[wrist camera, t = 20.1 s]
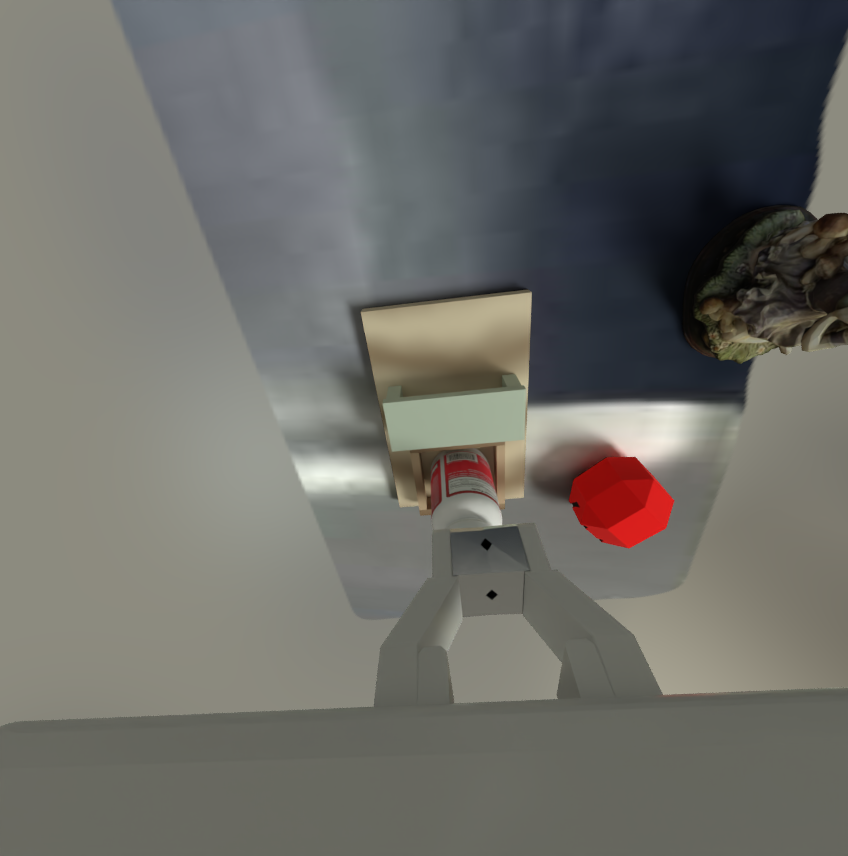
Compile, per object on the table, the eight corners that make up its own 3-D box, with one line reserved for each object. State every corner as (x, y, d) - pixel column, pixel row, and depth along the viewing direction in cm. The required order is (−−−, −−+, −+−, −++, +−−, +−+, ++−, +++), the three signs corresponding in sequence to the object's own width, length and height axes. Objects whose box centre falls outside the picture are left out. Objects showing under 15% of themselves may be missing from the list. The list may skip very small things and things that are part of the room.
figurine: (725, 194, 26) (1005, 179, 14) (860, 217, 27) (1248, 223, 14) (651, 348, 32) (797, 438, 20) (763, 364, 33) (974, 460, 20)
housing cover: (386, 386, 33) (382, 403, 30) (517, 373, 32) (526, 389, 30) (394, 432, 36) (391, 451, 33) (516, 421, 35) (524, 439, 32)
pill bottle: (453, 497, 40) (461, 586, 31) (418, 463, 38) (415, 548, 28) (500, 470, 38) (524, 555, 29) (466, 432, 36) (480, 512, 26)
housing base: (362, 308, 31) (356, 318, 28) (528, 289, 30) (538, 297, 27) (400, 500, 42) (398, 520, 39) (521, 490, 41) (527, 510, 38)
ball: (551, 477, 40) (575, 529, 34) (614, 434, 37) (654, 481, 31) (592, 513, 43) (621, 567, 37) (653, 475, 40) (698, 527, 33)
